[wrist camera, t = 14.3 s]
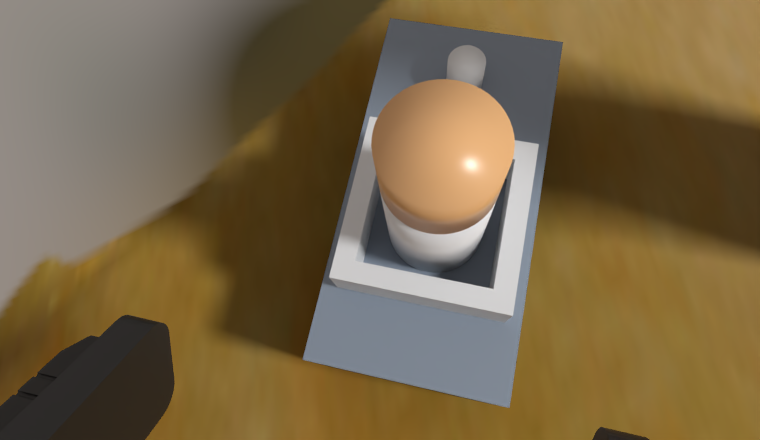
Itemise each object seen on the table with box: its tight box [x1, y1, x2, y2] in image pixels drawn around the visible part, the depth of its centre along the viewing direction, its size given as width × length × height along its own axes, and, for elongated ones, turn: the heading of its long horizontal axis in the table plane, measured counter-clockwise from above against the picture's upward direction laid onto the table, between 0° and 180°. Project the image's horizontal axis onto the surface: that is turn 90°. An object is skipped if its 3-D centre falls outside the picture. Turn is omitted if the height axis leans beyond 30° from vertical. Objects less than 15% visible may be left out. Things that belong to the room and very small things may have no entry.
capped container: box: [371, 79, 515, 273], centre depth 23 cm, size 5×5×10 cm
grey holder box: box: [303, 18, 563, 408], centre depth 30 cm, size 10×20×10 cm, turn 167°
